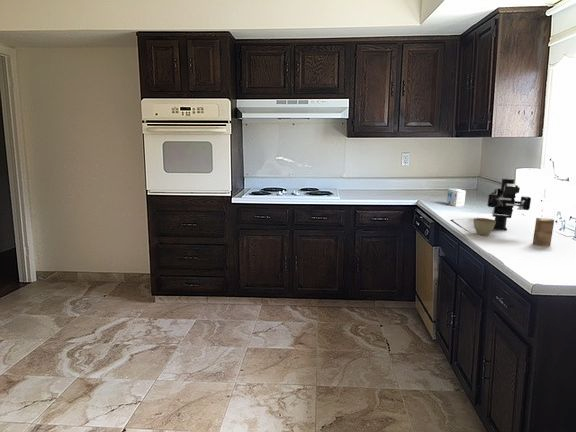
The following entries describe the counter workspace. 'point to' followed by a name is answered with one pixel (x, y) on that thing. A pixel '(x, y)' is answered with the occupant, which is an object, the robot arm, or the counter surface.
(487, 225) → the flower pot
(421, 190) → the counter surface
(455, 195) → the light bulb box
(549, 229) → the walnut block
